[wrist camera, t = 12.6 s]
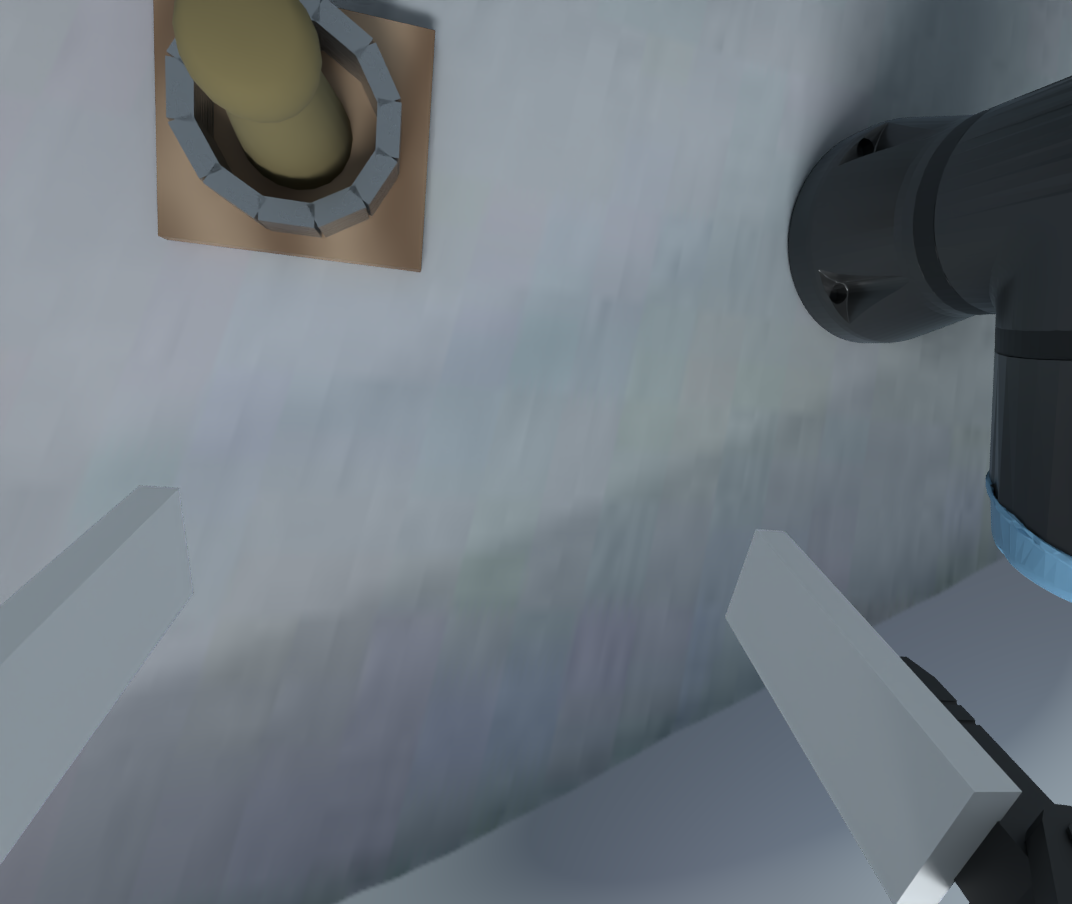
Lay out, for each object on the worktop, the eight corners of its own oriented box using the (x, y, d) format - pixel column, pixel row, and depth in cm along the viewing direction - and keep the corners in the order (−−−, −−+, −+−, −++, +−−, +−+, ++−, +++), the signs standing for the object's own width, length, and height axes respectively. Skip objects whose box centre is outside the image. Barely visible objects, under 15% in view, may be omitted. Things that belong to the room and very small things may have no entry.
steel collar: (405, 44, 31) (406, 14, 28) (395, 247, 33) (394, 239, 30) (187, -5, 28) (163, -43, 26) (189, 219, 30) (167, 207, 28)
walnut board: (433, 41, 32) (435, 30, 31) (420, 272, 35) (421, 269, 34) (162, -21, 29) (152, -36, 28) (167, 239, 31) (158, 235, 30)
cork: (254, 48, 30) (171, -114, 19) (367, 103, 31) (348, -18, 21) (220, 159, 30) (122, 62, 20) (333, 208, 32) (297, 143, 21)
